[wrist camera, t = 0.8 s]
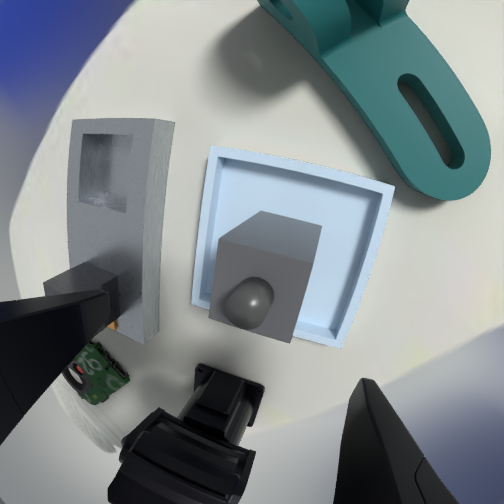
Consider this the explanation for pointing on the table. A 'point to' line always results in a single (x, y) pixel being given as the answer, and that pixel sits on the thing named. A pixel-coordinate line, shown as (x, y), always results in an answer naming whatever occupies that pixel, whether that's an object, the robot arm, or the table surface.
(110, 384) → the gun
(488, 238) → the table surface
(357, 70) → the bracket
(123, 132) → the grey socket base
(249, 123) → the table surface
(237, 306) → the plug
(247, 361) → the table surface
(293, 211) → the tray
